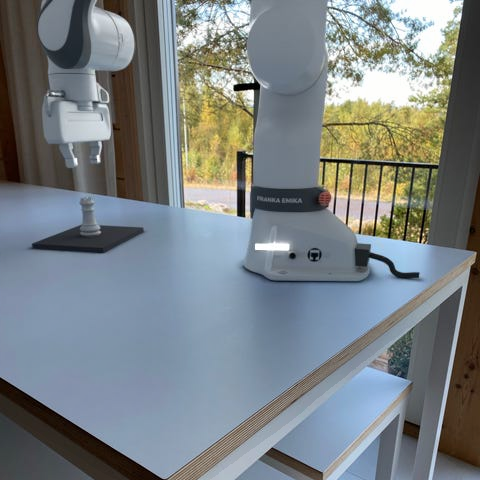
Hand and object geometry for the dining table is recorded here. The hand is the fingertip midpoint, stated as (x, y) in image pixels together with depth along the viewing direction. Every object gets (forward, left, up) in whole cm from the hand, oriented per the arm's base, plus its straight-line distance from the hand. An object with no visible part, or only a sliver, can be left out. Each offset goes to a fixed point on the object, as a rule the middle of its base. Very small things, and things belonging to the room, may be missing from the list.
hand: (84, 165), depth 99 cm
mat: (0, 0, -16) cm, 16 cm away
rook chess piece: (0, 0, -15) cm, 15 cm away
